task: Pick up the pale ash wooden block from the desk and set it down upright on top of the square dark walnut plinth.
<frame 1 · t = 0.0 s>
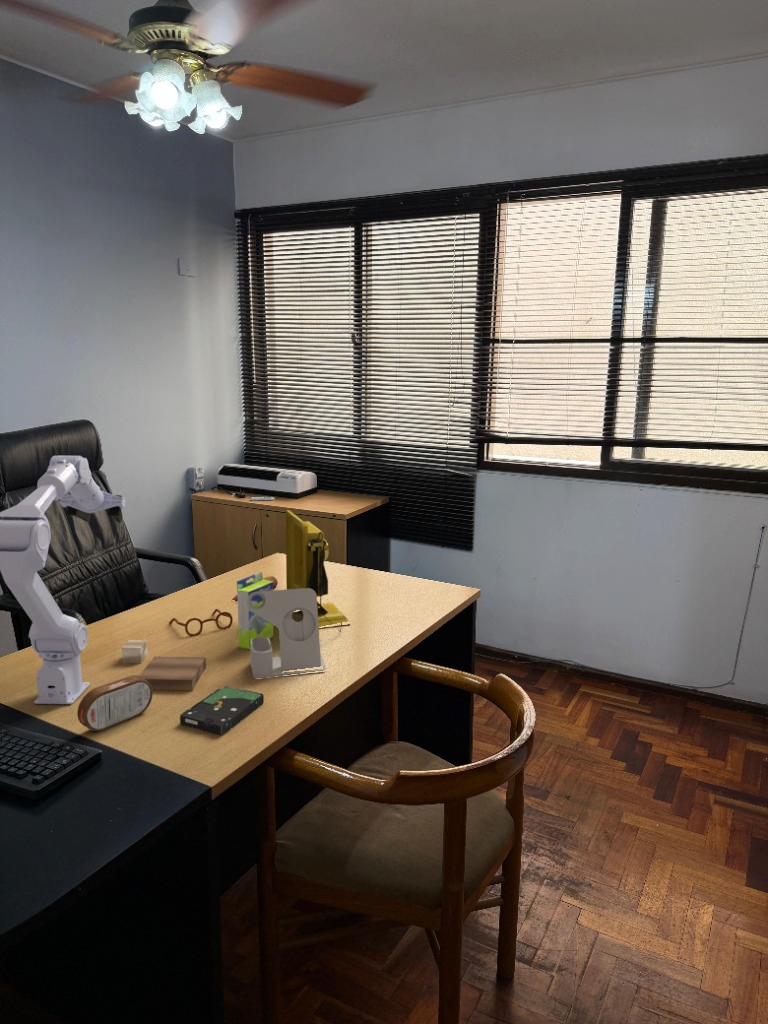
hand: (104, 518, 172), 32 cm above the table, tool tilted 50°, fingers open, 7 cm apart
disk drive: (223, 716, 144), on the table
block: (135, 659, 169), on the table
box: (256, 642, 181), on the table
tin: (118, 723, 140), on the table
yellow computer monitor: (320, 621, 197), on the table
plinth: (173, 678, 159), on the table
glasses: (201, 627, 192), on the table
sunglasses case: (255, 595, 218), on the table
phone holder: (287, 667, 166), on the table
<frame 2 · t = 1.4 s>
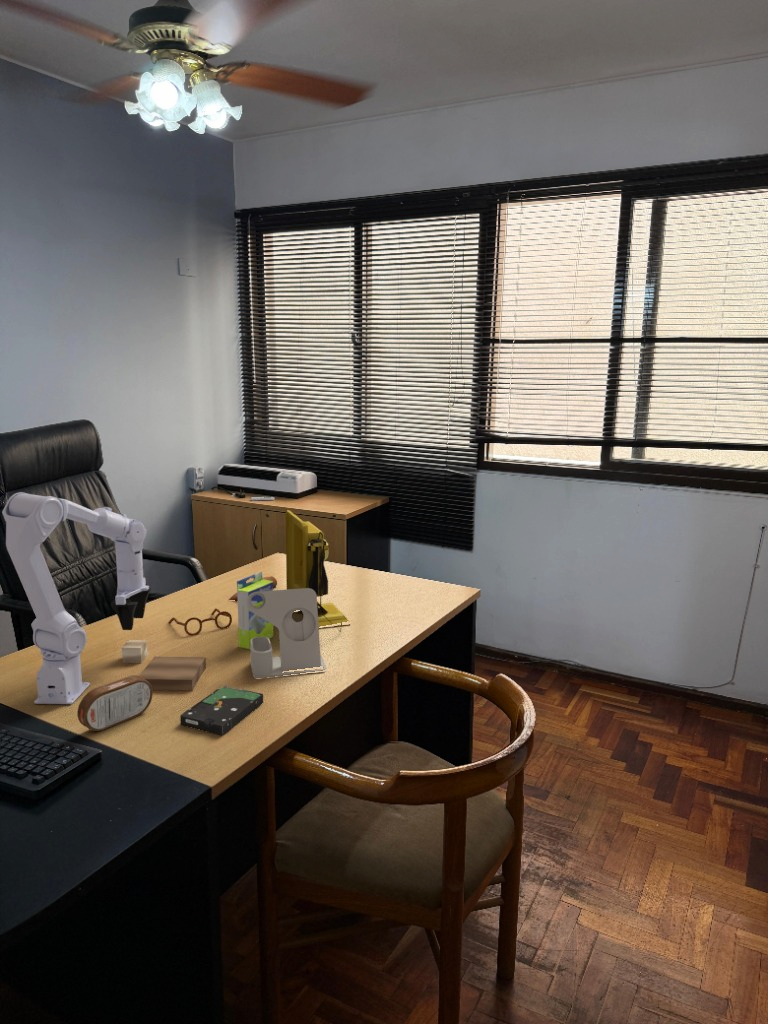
hand: (133, 623, 167), 9 cm above the table, tool pointing down, fingers open, 7 cm apart
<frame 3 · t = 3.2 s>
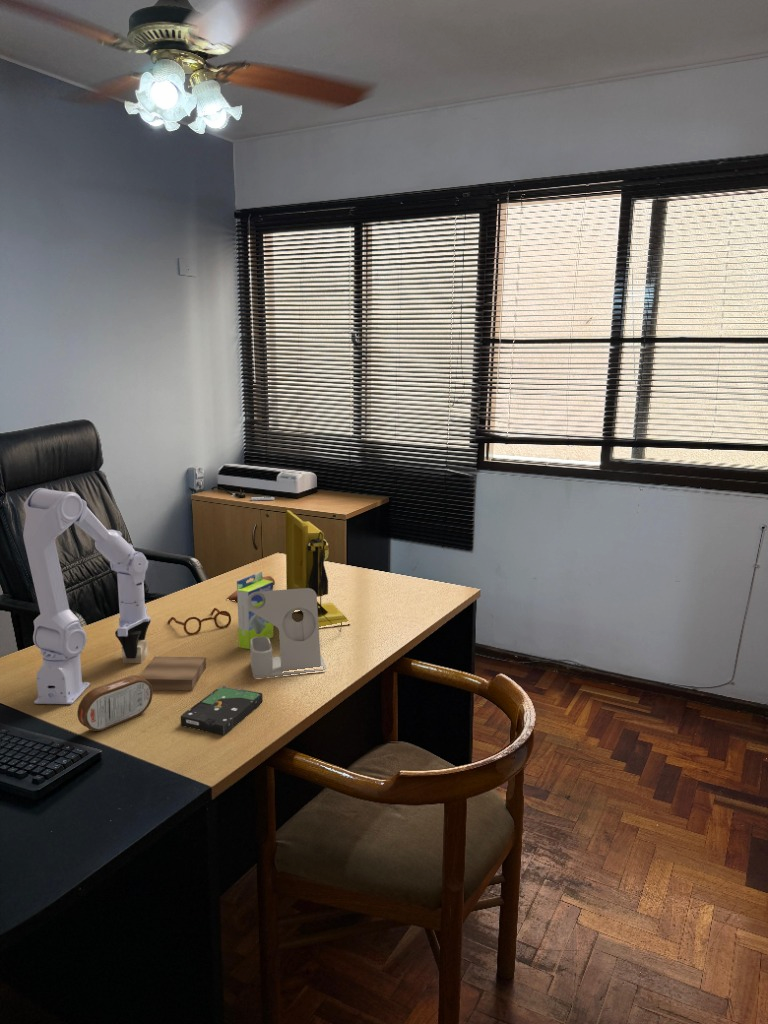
hand: (134, 653, 169), 1 cm above the table, tool pointing down, fingers closed on block, 4 cm apart
block: (135, 659, 169), on the table, touching gripper
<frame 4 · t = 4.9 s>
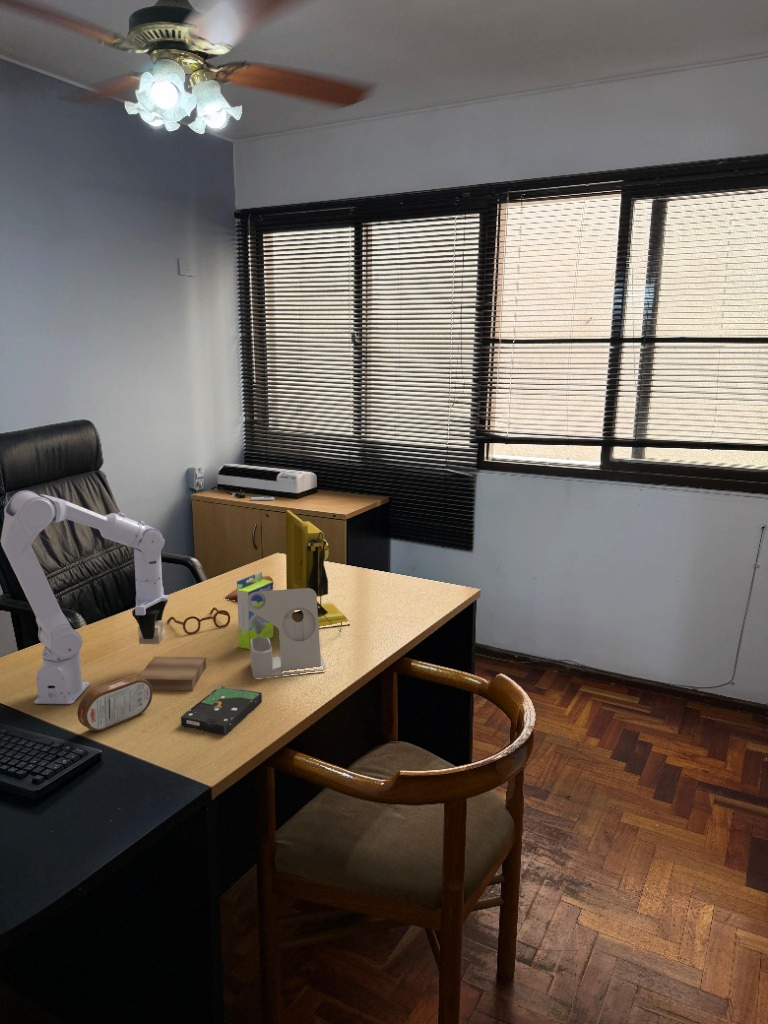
hand: (151, 634, 163), 8 cm above the table, tool pointing down, fingers closed on block, 4 cm apart
block: (152, 640, 163), point 7 cm above the table, touching gripper
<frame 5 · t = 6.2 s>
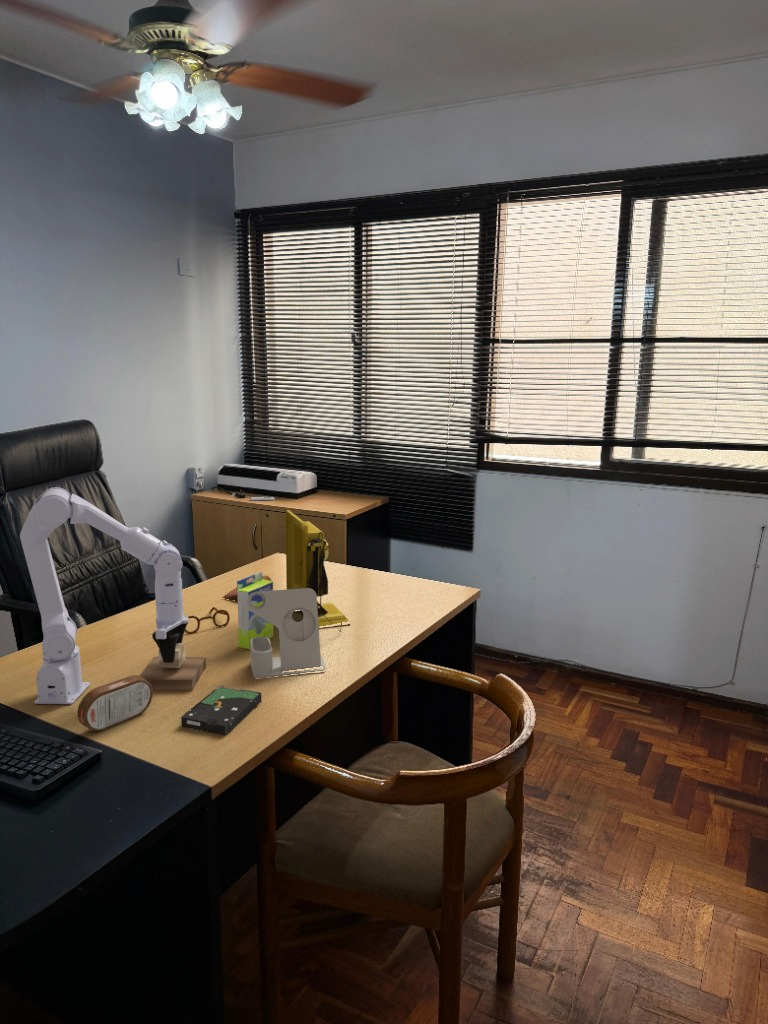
hand: (172, 657, 158), 5 cm above the table, tool pointing down, fingers closed on block, 4 cm apart
block: (172, 663, 159), point 4 cm above the table, touching gripper
when the fingers open (5 cm above the table, at t = 7.1 s): block stays where it is, resting on plinth.
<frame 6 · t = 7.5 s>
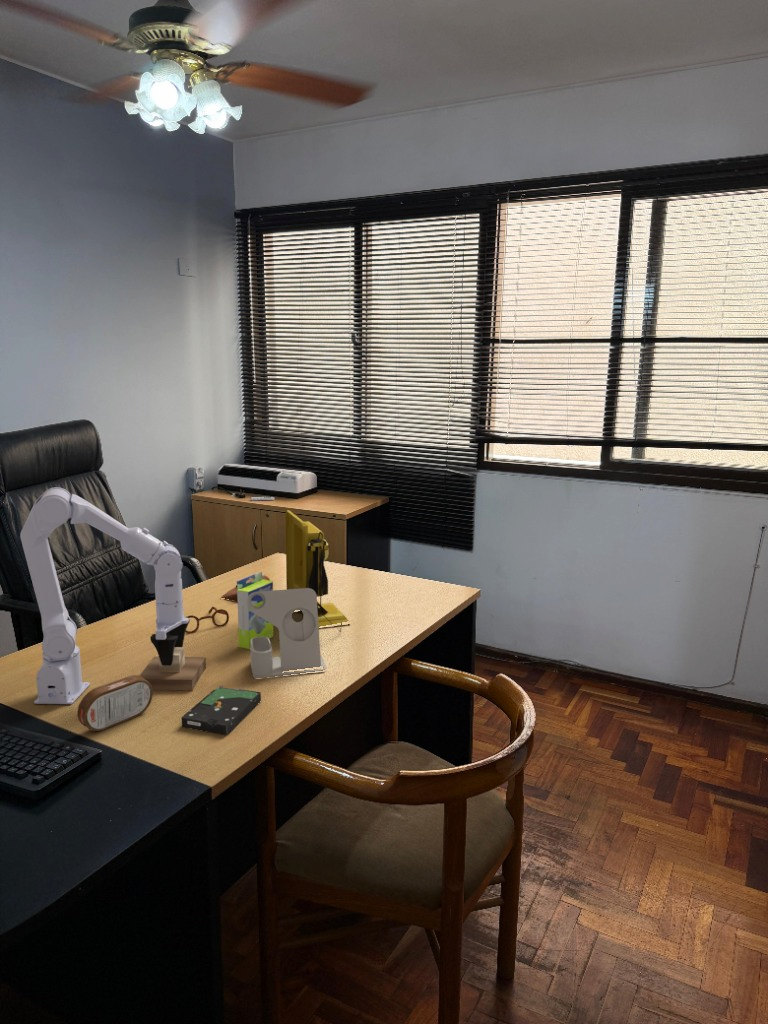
hand: (172, 657, 158), 5 cm above the table, tool pointing down, fingers open, 7 cm apart
block: (172, 667, 159), point 2 cm above the table, touching plinth
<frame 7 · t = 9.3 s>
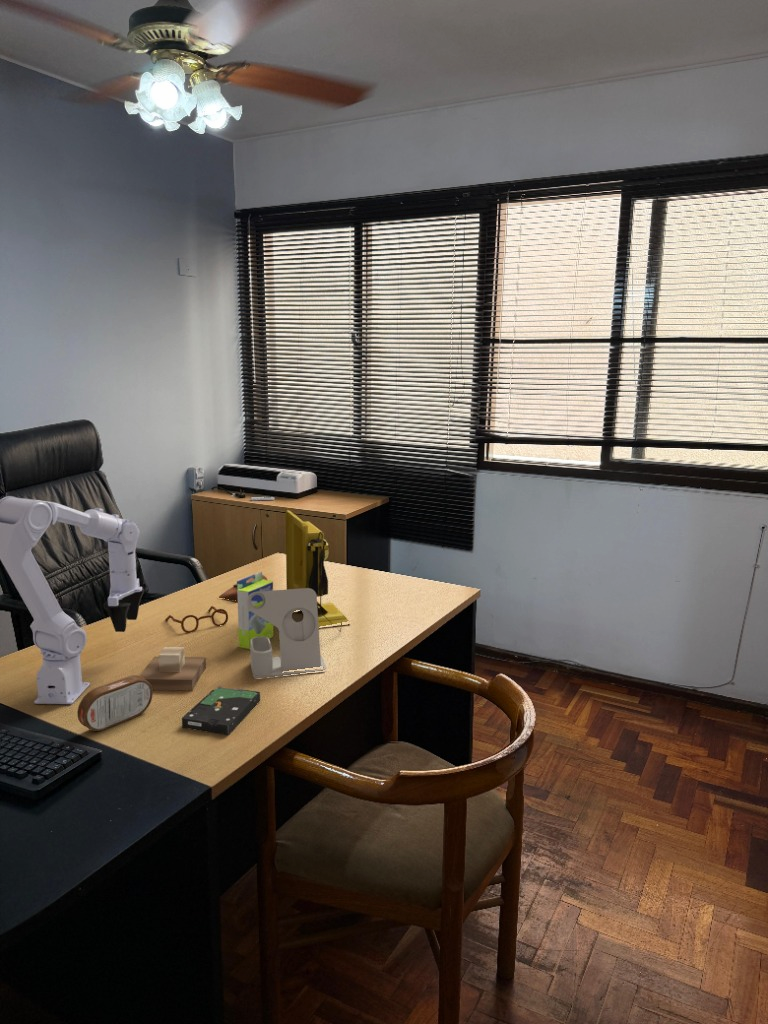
hand: (126, 625, 165), 9 cm above the table, tool pointing down, fingers open, 7 cm apart
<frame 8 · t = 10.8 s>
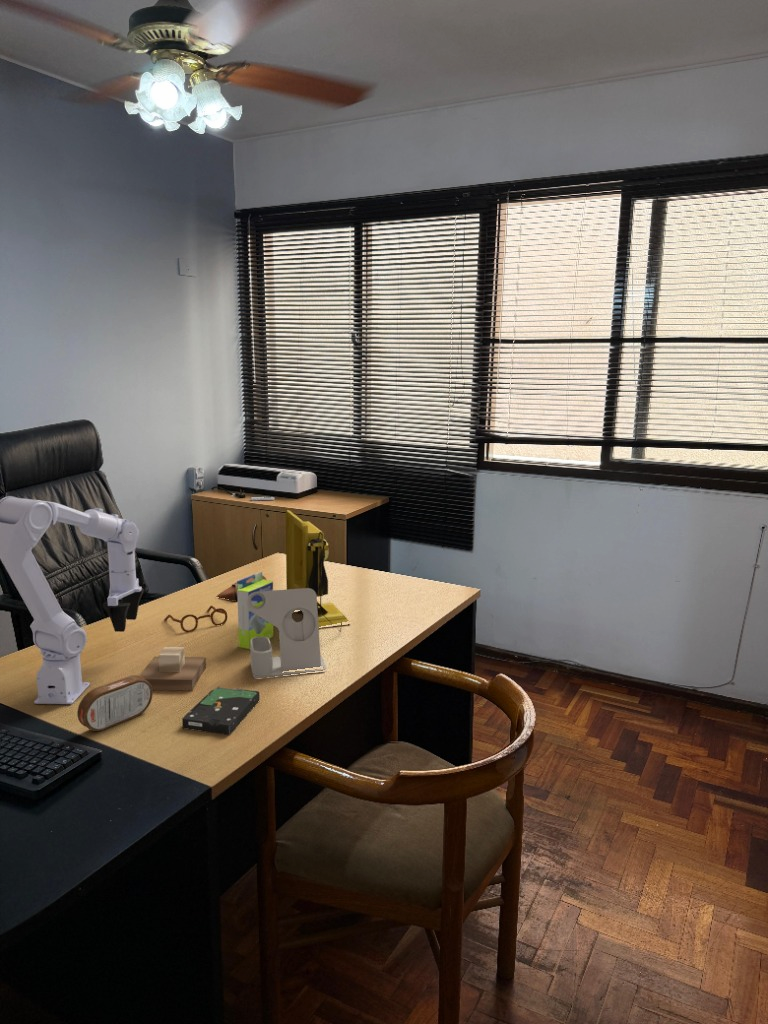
hand: (125, 625, 165), 9 cm above the table, tool pointing down, fingers open, 7 cm apart
at the end: block 0.0 cm off-centre on the plinth, point 2.5 cm above the plinth's base; block tilted 0°; the gripper is holding nothing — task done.
